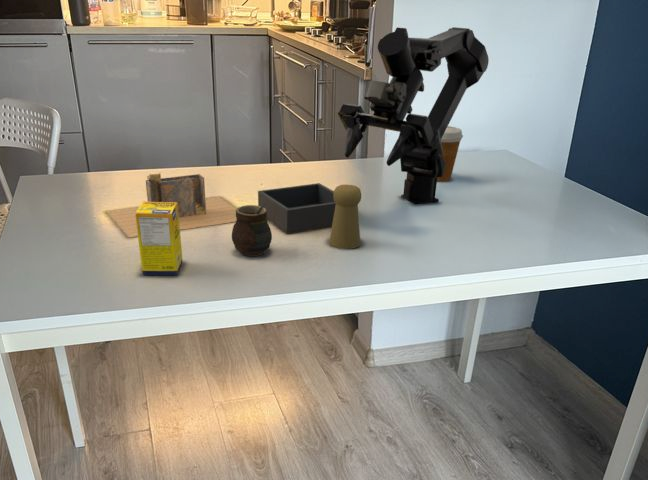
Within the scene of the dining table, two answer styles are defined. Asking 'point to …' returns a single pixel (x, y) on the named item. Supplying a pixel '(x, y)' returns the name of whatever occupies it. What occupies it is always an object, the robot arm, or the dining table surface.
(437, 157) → the robot arm
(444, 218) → the dining table surface
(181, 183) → the architectural model on board
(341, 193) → the tan pawn figure
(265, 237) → the mate gourd
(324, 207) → the bin
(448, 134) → the disposable coffee cup
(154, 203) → the supplement box
